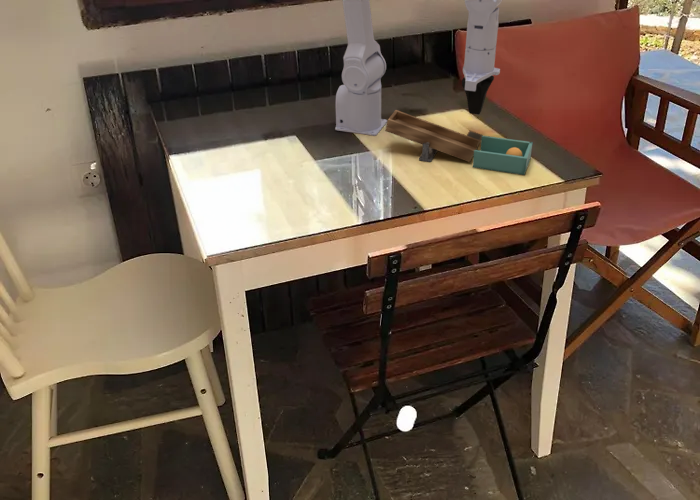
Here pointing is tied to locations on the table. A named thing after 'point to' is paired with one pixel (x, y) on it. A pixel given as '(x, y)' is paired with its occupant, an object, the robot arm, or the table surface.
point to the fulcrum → (427, 153)
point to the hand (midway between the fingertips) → (475, 112)
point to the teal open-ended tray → (502, 155)
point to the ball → (514, 151)
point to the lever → (434, 135)
